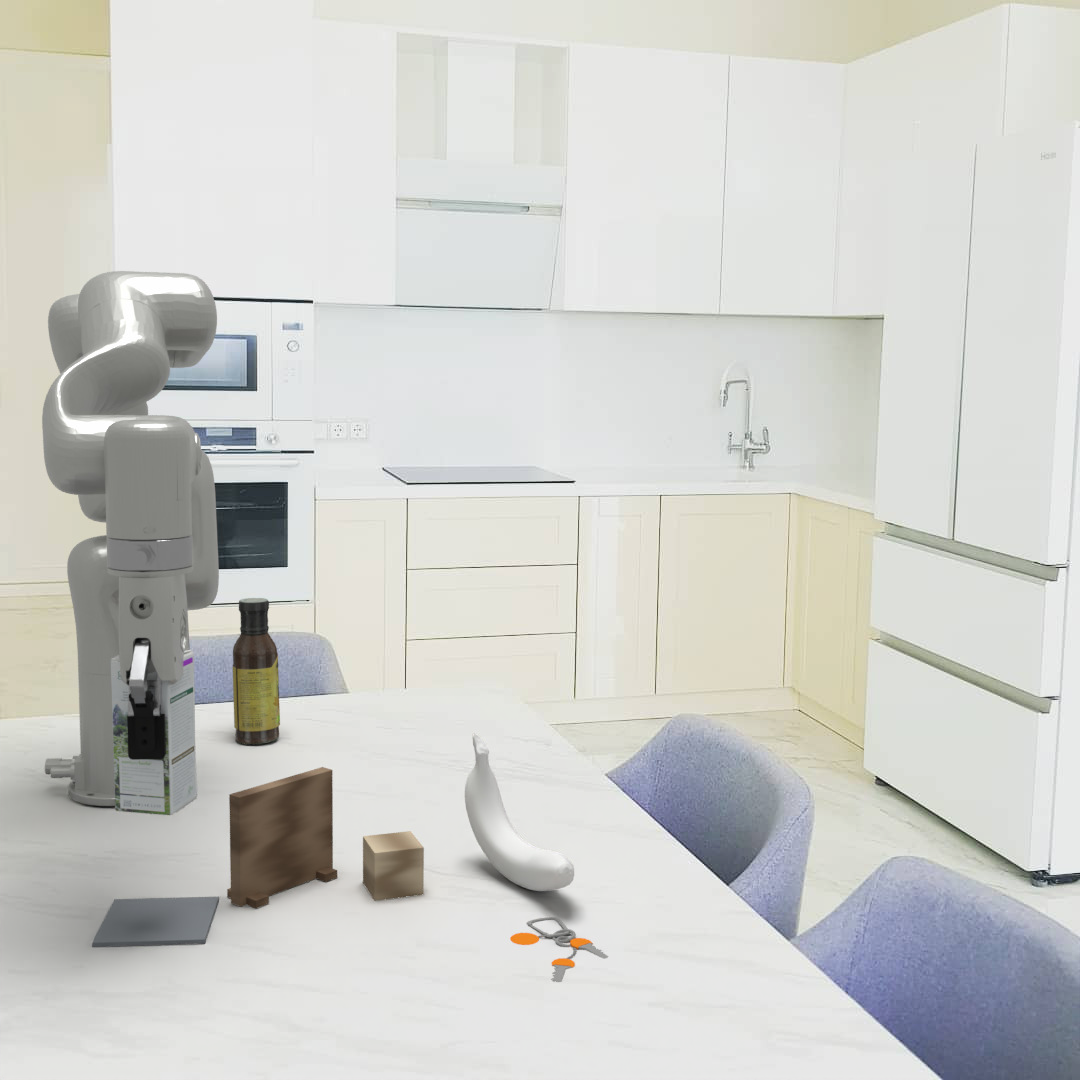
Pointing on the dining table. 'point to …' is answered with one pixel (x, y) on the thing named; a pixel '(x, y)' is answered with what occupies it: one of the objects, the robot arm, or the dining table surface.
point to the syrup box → (173, 776)
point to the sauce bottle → (255, 676)
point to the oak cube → (393, 865)
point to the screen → (281, 836)
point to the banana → (508, 833)
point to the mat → (157, 921)
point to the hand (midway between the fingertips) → (154, 745)
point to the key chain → (575, 943)
